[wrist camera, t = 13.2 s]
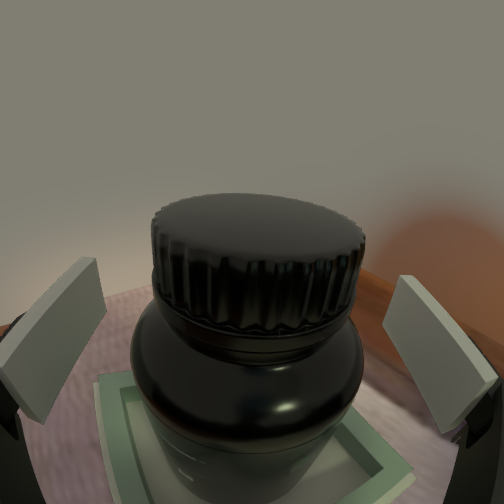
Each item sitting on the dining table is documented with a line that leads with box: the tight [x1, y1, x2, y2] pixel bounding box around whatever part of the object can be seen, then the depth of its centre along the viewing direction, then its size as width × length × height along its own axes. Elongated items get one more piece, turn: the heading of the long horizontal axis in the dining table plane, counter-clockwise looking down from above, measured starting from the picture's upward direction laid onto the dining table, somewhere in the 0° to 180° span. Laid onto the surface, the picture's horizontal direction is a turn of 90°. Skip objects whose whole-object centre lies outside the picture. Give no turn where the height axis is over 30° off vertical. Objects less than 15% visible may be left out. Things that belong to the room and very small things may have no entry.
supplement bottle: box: [130, 193, 365, 504], centre depth 9 cm, size 7×7×12 cm
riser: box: [93, 370, 417, 504], centre depth 12 cm, size 14×14×10 cm
